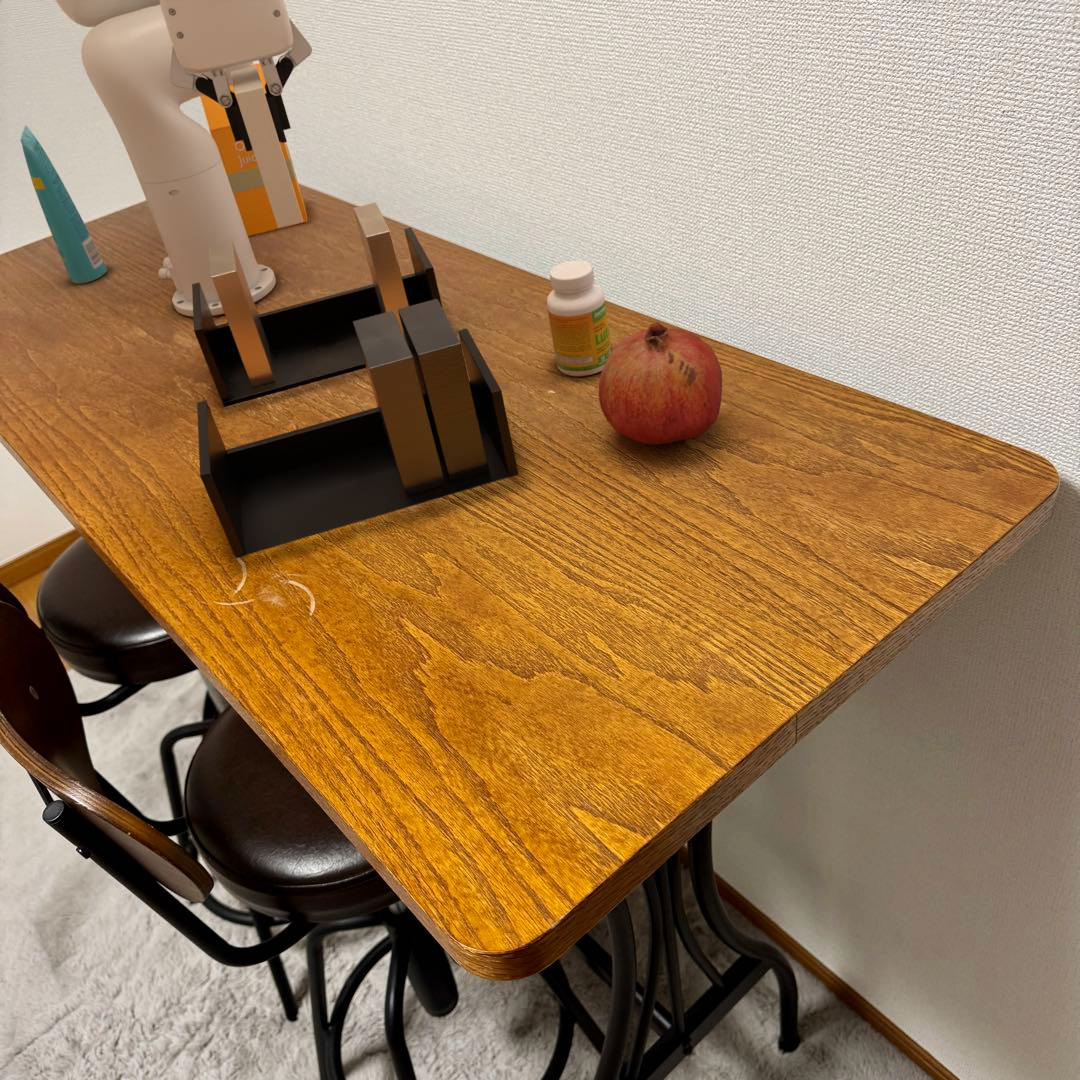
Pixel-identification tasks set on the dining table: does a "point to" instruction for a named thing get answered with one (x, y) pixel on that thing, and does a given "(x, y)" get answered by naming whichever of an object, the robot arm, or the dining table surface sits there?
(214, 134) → the orange juice
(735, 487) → the dining table surface
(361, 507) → the black rack
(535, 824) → the dining table surface
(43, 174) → the tube
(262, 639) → the dining table surface
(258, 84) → the long flat cream plank
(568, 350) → the supplement bottle
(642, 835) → the dining table surface
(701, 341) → the fruit
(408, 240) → the brown and black frame
